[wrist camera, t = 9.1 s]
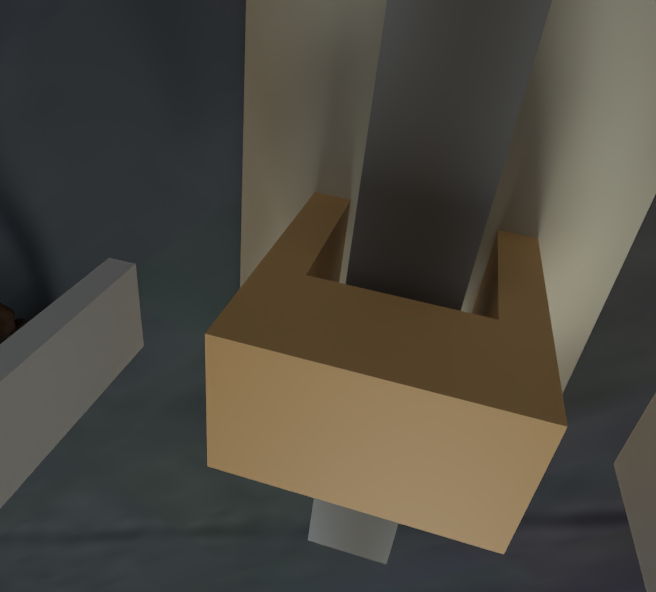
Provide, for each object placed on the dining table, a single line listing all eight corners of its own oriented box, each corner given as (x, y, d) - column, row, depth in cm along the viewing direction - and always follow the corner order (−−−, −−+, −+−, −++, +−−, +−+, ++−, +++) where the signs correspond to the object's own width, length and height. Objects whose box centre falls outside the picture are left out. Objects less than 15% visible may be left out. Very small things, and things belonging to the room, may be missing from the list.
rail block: (244, 431, 26) (197, 521, 22) (264, -176, 14) (165, -235, 10) (501, 503, 24) (502, 617, 20) (786, -126, 12) (942, -172, 8)
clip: (304, 296, 20) (207, 466, 13) (314, 192, 17) (204, 333, 11) (500, 343, 18) (503, 554, 12) (538, 238, 16) (567, 426, 10)
